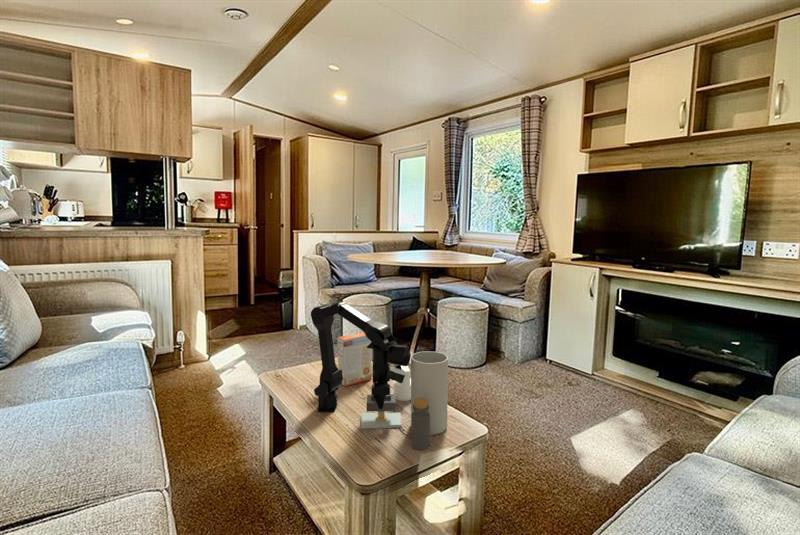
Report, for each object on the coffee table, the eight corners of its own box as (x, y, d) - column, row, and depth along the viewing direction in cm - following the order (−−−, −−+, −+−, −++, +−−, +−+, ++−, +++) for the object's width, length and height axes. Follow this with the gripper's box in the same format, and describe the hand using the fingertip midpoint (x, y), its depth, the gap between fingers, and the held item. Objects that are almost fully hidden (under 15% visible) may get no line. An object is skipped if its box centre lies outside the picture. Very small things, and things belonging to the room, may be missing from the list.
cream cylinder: (417, 399, 170) (417, 370, 168) (395, 401, 168) (395, 371, 167) (413, 390, 179) (413, 362, 177) (392, 391, 177) (392, 364, 176)
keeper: (360, 428, 147) (360, 411, 146) (362, 416, 156) (361, 400, 155) (401, 427, 148) (401, 410, 147) (400, 415, 157) (400, 399, 156)
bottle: (410, 441, 139) (410, 397, 137) (428, 440, 139) (428, 396, 137) (412, 451, 133) (412, 405, 131) (431, 450, 133) (431, 404, 131)
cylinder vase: (403, 424, 149) (403, 355, 146) (430, 415, 157) (431, 349, 154) (426, 440, 139) (427, 366, 136) (454, 428, 147) (455, 358, 144)
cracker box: (365, 375, 195) (364, 331, 192) (372, 379, 190) (371, 334, 188) (337, 382, 187) (336, 336, 184) (344, 387, 182) (343, 339, 179)
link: (366, 411, 147) (366, 403, 147) (367, 402, 154) (367, 394, 154) (395, 411, 148) (395, 402, 148) (394, 402, 155) (394, 394, 154)
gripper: (405, 370, 140) (405, 415, 142) (402, 352, 159) (402, 392, 161) (371, 371, 140) (371, 416, 142) (372, 352, 158) (372, 393, 160)
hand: (380, 403), depth 151 cm, fingers closed on link, 7 cm apart
